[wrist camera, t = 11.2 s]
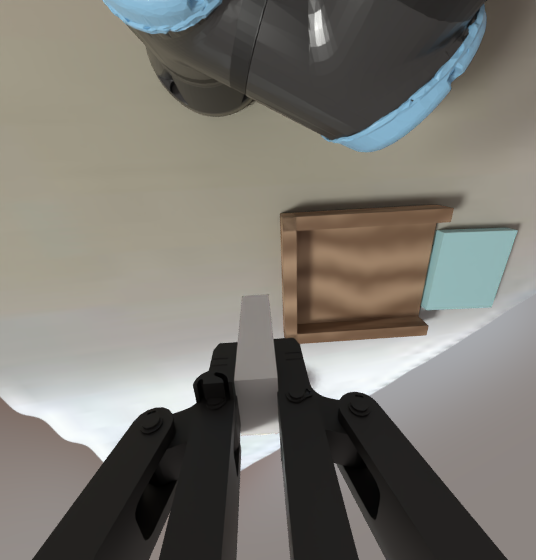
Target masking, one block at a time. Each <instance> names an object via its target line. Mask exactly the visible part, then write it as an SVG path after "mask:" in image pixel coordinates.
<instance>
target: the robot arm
mask: <svg viewBox="0 0 536 560" xmlns="http://www.w3.org/2000/svg"><path fill="white" fill-rule="evenodd" d="M486 1H487V0H103V2H104V3H105V5H106V6H108V7H109V9H110V10H111V12H112V13H113V14H114V15H116V16H118V17H119V18H120V19H121V20H122V21H123V22H124V23H125V24H126V25H127V26H128V27H129V28H130V29H131V30H132V31H133V32H134V33H135V35H136V36H137V37H138V38H139V39H140V40H141V41H142V42H143V43H144V44H145V46H146V50H147V54H148V57H149V60H150V62H151V65H152V67H153V69H154V71H155V73H156V75H157V77H158V78H159V80H160V82H161V83H162V84H163V86H164V87H165V88H166V89H167V91H168V92H169V93H170V94H171V95H172V96H173V97H174V98H175V99H176V100H178V101H179V102H180V103H181V104H183V105H184V106H185V107H187V108H188V109H190V110H192V111H194V112H196V113H199V114H202V115H206V116H213V117H220V116H227V115H230V114H233V113H236V112H238V111H240V110H241V109H243V108H244V107H246V106H247V105H248V104H249V103H250V102H252V101H253V100H255V101H257V102H259V103H260V104H262V105H264V106H266V107H268V108H270V109H272V110H274V111H276V112H278V113H280V114H282V115H284V116H286V117H288V118H290V119H291V120H293V121H295V122H297V123H299V124H301V125H303V126H305V127H307V128H309V129H311V130H313V131H315V132H317V133H319V134H321V136H322V137H323V138H324V139H325V140H327V141H329V142H333V143H340V144H342V145H344V146H346V147H348V148H351V149H353V150H355V151H358V152H373V151H377V150H380V149H383V148H385V147H387V146H389V145H391V144H393V143H395V142H396V141H398V140H399V139H401V138H402V137H404V136H405V135H406V134H408V133H409V132H410V131H411V130H413V129H414V128H415V127H416V126H417V125H419V124H420V123H421V122H422V121H423V120H424V119H425V118H426V117H427V116H428V115H429V114H430V113H431V112H432V111H433V110H434V109H435V108H436V107H437V106H438V105H439V104H440V102H441V101H442V100H443V99H444V98H445V97H446V95H447V94H448V93H449V92H450V90H451V82H452V81H454V80H455V79H456V78H457V77H458V76H460V75H461V74H462V73H464V72H465V70H466V69H467V67H468V65H469V64H470V62H471V61H472V59H473V57H474V56H475V54H476V52H477V50H478V48H479V45H480V43H481V40H482V38H483V35H484V33H485V28H486V19H487V16H486V12H485V6H484V3H485V2H486ZM193 388H194V393H195V397H196V402H197V403H196V404H195V405H193V406H192V407H190V408H188V409H186V410H183V411H180V412H177V413H174V414H172V413H171V412H170V410H169V409H166V408H163V407H161V408H153V409H150V410H147V411H146V412H144V413H143V414H141V415H140V416H139V417H138V418H137V419H136V420H135V421H134V422H133V423H132V425H131V426H130V427H129V429H128V430H127V431H126V433H125V434H124V436H123V437H122V438H121V440H120V441H119V442H118V444H117V445H116V446H115V448H114V449H113V450H112V452H111V453H110V455H109V456H108V457H107V459H106V460H105V461H104V463H103V464H102V465H101V467H100V468H99V469H98V471H97V472H96V474H95V475H94V476H93V478H92V479H91V480H90V482H89V483H88V484H87V486H86V487H85V489H84V490H83V491H82V493H81V494H80V495H79V497H78V498H77V499H76V501H75V502H74V503H73V505H72V506H71V507H70V509H69V510H68V512H67V513H66V514H65V516H64V517H63V518H62V520H61V521H60V522H59V524H58V525H57V527H56V528H55V529H54V531H53V532H52V533H51V535H50V536H49V537H48V539H47V540H46V542H45V543H44V544H43V546H42V547H41V548H40V550H39V551H38V552H37V554H36V555H35V556H34V558H33V559H32V560H149V558H150V556H151V553H152V551H153V549H154V547H155V544H156V542H157V540H158V538H159V535H160V533H161V531H162V529H163V526H164V524H165V522H166V520H167V517H168V515H169V513H170V516H169V520H168V524H167V528H166V532H165V536H164V541H163V545H162V549H161V553H160V557H159V560H236V554H237V533H238V511H239V508H238V507H239V487H240V466H241V446H240V431H241V436H248V435H261V434H274V433H280V447H281V461H282V469H283V481H284V492H285V504H286V515H287V526H288V537H289V548H290V559H291V560H359V558H358V555H357V551H356V547H355V544H354V540H353V536H352V532H351V528H350V524H349V520H348V517H347V513H346V509H345V505H344V502H343V497H342V494H341V490H340V486H339V483H338V478H337V475H336V471H335V467H334V463H336V464H337V466H338V468H339V470H340V472H341V474H342V475H343V478H344V479H345V481H346V483H347V485H348V487H349V489H350V491H351V493H352V495H353V497H354V499H355V501H356V503H357V504H358V506H359V508H360V510H361V512H362V514H363V516H364V518H365V520H366V522H367V524H368V526H369V528H370V530H371V531H372V533H373V535H374V537H375V539H376V541H377V543H378V545H379V547H380V549H381V551H382V553H383V555H384V556H385V558H386V560H508V559H507V558H506V557H505V556H504V555H503V554H502V552H501V551H500V550H499V549H498V547H497V546H496V545H495V544H494V543H493V542H492V540H491V539H490V538H489V537H488V536H487V534H486V533H485V532H484V531H483V529H482V528H481V527H480V526H479V525H478V523H477V522H476V521H475V520H474V519H473V517H471V515H470V514H469V513H468V511H467V510H466V509H465V508H464V507H463V505H461V503H460V502H459V501H458V499H457V498H456V497H455V496H454V495H453V493H452V492H451V491H450V490H449V489H448V487H447V486H446V485H445V484H444V483H443V481H442V480H441V479H440V478H439V477H438V475H437V474H436V473H435V472H434V471H433V470H432V468H431V467H430V466H429V465H428V463H427V462H426V461H425V460H424V458H423V457H422V456H421V455H420V454H419V452H418V451H417V450H416V449H415V448H414V446H413V445H412V444H411V443H410V442H409V440H408V439H407V438H406V437H405V436H404V434H403V433H402V432H401V431H400V430H399V428H398V427H397V426H396V425H395V424H394V422H393V421H392V420H391V419H390V418H389V417H388V415H387V414H386V413H385V412H384V410H383V409H382V408H381V407H380V406H379V405H378V403H377V402H376V401H375V400H374V399H373V398H371V397H370V396H368V395H366V394H364V393H359V392H350V393H347V394H345V395H343V396H342V397H341V399H340V400H336V399H331V398H327V397H323V396H321V395H319V394H318V393H317V392H315V391H314V390H313V388H312V387H311V385H310V383H309V379H308V375H307V371H306V367H305V363H304V360H303V355H302V351H301V347H300V344H299V343H298V342H297V341H296V340H295V339H294V338H281V339H273V331H272V322H271V312H270V303H269V294H266V295H251V296H242V303H241V314H240V324H239V334H238V342H234V343H220V344H219V345H218V346H217V347H216V348H215V349H214V351H213V355H212V360H211V364H210V368H209V371H207V372H205V373H203V374H201V375H200V376H199V377H198V378H197V379H196V380H195V382H194V384H193Z"/></svg>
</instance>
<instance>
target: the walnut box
mask: <svg viewBox="0 0 536 560" xmlns="http://www.w3.org/2000/svg"><path fill="white" fill-rule="evenodd" d="M453 209H454V208H451V207H446V206H441V205H420V206H402V207H384V208H367V209H349V210H331V211H313V212H295V213H280V228H281V261H282V295H283V328H284V337H285V338H294V339H295V340H296V341H297V342H298V343H299V344H303V343H318V342H333V341H348V340H363V339H377V338H392V337H407V336H422V335H427V330H428V325H427V324H426V323H425V322H424V321H423V320H422V319H421V318H420V317H419V316H418V315H419V310H420V305H421V299H422V294H423V289H424V284H425V279H426V274H427V269H428V264H429V258H430V253H431V248H432V243H433V238H434V233H435V228H436V223H441V222H451V218H452V214H453Z"/></svg>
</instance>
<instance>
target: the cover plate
mask: <svg viewBox="0 0 536 560" xmlns="http://www.w3.org/2000/svg"><path fill="white" fill-rule="evenodd" d="M517 231H518V230H515V229H511V228H481V229H452V230H436V235H435V239H434V244H433V248H432V253H431V257H430V262H429V267H428V271H427V276H426V280H425V285H424V289H423V294H422V299H421V306H422V307H423V308H424V309H425V310H441V309H464V308H487V307H492V304H493V301H494V298H495V295H496V293H497V290H498V287H499V284H500V281H501V278H502V275H503V272H504V269H505V266H506V263H507V260H508V257H509V254H510V252H511V249H512V246H513V243H514V240H515V237H516V234H517Z"/></svg>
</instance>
